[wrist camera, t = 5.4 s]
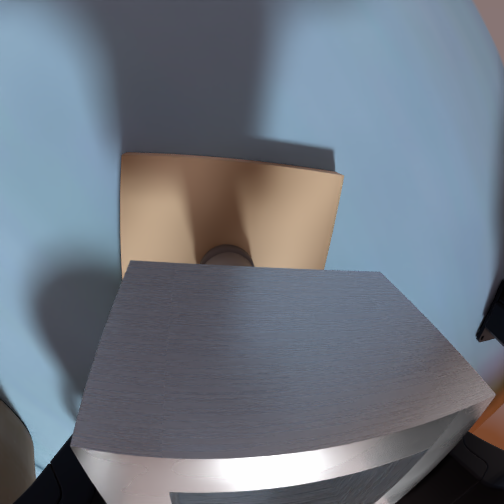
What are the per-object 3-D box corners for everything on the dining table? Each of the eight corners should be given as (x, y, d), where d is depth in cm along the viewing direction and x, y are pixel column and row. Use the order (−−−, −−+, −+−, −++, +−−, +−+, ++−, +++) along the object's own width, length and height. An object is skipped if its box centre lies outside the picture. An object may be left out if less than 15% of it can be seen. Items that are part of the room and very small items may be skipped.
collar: (380, 271, 8) (496, 394, 4) (321, 419, 11) (364, 526, 6) (130, 260, 7) (69, 446, 3) (148, 425, 10) (145, 551, 5)
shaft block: (335, 171, 15) (405, 205, 10) (298, 336, 19) (331, 410, 14) (126, 152, 13) (81, 176, 8) (130, 332, 17) (114, 414, 12)
